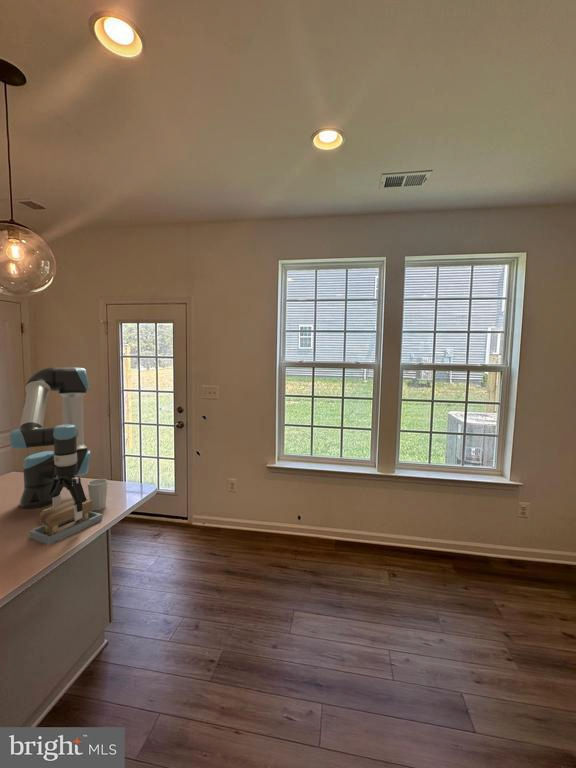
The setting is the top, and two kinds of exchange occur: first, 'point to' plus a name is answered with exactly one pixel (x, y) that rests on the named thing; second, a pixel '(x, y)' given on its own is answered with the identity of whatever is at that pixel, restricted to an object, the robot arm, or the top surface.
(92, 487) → the cup
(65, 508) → the board
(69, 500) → the block
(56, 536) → the frame
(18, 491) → the top surface
